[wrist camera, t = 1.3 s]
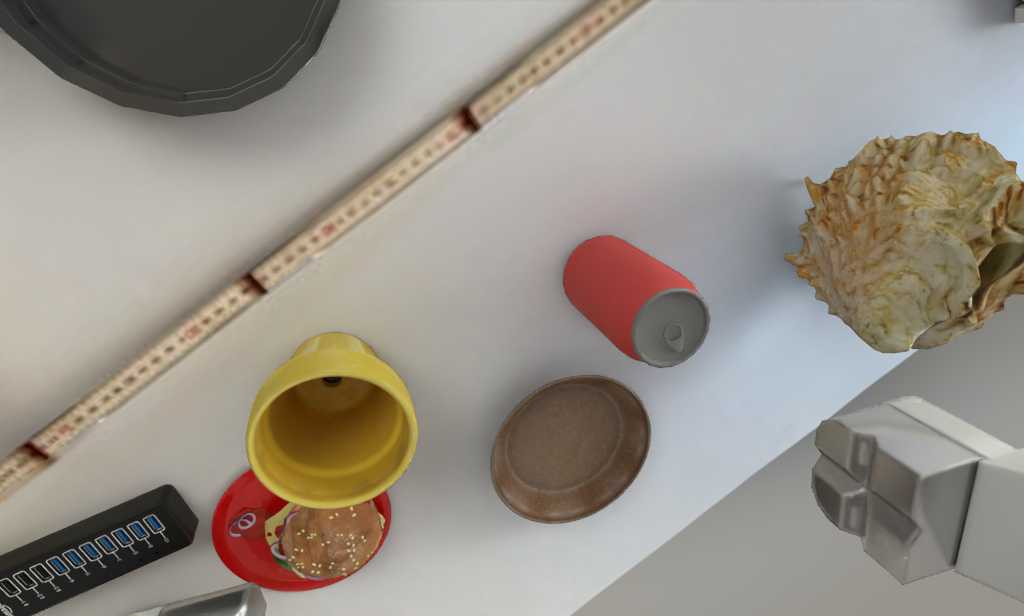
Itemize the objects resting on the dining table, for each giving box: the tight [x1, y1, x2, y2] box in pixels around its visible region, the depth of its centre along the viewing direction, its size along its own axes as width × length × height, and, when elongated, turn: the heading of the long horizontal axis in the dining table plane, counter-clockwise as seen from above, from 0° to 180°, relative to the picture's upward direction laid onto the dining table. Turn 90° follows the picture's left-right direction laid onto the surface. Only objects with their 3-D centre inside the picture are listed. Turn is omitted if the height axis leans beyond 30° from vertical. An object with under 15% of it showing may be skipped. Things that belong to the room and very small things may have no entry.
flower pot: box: [246, 333, 418, 509], centre depth 42 cm, size 10×10×10 cm
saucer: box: [490, 375, 651, 524], centre depth 54 cm, size 15×15×3 cm
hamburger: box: [212, 469, 391, 591], centre depth 48 cm, size 14×14×6 cm
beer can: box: [563, 236, 710, 368], centre depth 44 cm, size 7×7×12 cm
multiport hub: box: [0, 485, 198, 616], centre depth 45 cm, size 4×14×2 cm, turn 108°
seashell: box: [785, 131, 1024, 353], centre depth 47 cm, size 18×18×15 cm
